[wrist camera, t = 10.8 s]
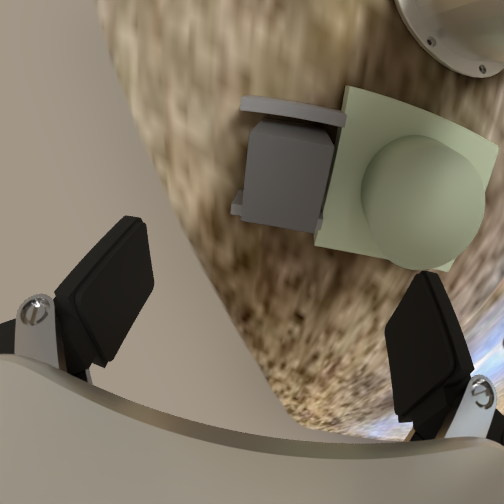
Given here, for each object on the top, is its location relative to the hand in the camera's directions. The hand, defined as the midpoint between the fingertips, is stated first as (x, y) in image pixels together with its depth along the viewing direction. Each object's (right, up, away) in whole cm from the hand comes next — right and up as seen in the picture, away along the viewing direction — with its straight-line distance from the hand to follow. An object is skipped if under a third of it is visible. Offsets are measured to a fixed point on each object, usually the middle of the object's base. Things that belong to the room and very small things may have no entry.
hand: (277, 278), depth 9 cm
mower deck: (+9, +8, +13) cm, 18 cm away
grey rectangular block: (+2, +9, +13) cm, 16 cm away
